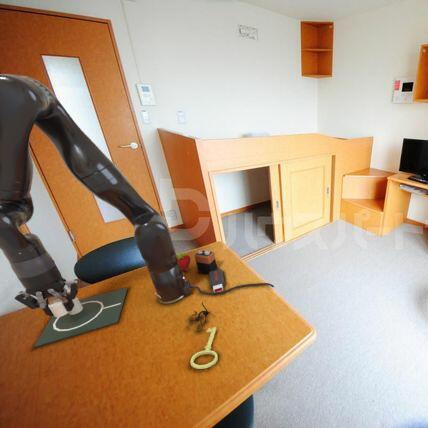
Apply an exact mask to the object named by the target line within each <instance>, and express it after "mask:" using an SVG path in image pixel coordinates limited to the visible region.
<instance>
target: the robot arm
mask: <svg viewBox="0 0 428 428" xmlns="http://www.w3.org/2000/svg"><path fill="white" fill-rule="evenodd" d="M34 126H35V127H36V128H37V129H38V130H39V131H40V132H41V133H42V134H43V135H44V136H45V137H46V138H47V139H48V140H49V141H50V142H51V143H52V145H53V146H54V149H55V150H56V152H57V153H58V155H59V157H60V159H61V161H62V162H63V165H64V166H65V168H66V169H67V170H68V172H69V173H70V174H71V175H72V177H73V178H74V179H75V180H76V181H78V183H80V184H81V185H82V186H83V187H84V188H85V189H86V190H87V191H88V192H89V193H91V194H92V195H93V196H94V197H96V198H98V199H99V200H101V201H102V202H105V204H108V205H110V206H112V207H113V208H115V209H116V210H118V211H119V212H120V213H121V214H122V215H123V216H124V217H125V218H126V219H127V220H128V222H129V223H130V225H132V227H133V228H134V230H133V236H134V241H135V243H136V245H137V249H138V251H139V252H140V256H141V258H142V259H143V261H144V263H145V266H146V269H147V271H148V274H149V276H150V279H151V282H152V285H153V287H154V290H155V291H154V296H157V299H158V302H159V303H160V304H162V305H171V304H174V303H177V302H179V301H181V300H183V298H186V297H187V296H188V295H189V294H191V293H192V289H197V290H198V293H200V294H202V295H206V296H207V295H209V296H213V295H220V294H225V293H228V292H231V291H233V290H235V289H239V288H245V287H252V286H253V287H255V286H269V287H271V288H275V286H274V284H271V283H268V282H260V283H259V282H258V283H245V284H239V285H236V286H233V287H231V288H228V289H225V290H223V291H220V292H214V291H213V292H207V291H206V292H205V291H202V290H201V288H200V287H199V286H197V285H191V283H190V280H186V279H185V276H184V273H183V272H184V271H182V269H181V268H180V266H179V262H178V259H177V257H178V256H176V255H177V253H176V250H175V247H174V243H173V239H172V237H171V232H170V229H169V225H168V222H167V220H166V218H165V217H164V216H163V215H162V214H160V213H159V211H157V210H156V209H155V208H154V207H153V206H151V205H150V204H149V203H148V202H147V201H146V200H145V199H144V198H143V197H142V195H140V193H139V192H138V191H137V190H136V188H135V186H133V184H132V183H131V181H129V179H128V178H127V177H126V176H125V175H124V174H123V172H122V171H121V170H120V169H119V167H117V166H116V164H115V163H114V162H113V161H112V160H111V159H110V158H109V157H108V156H107V155H106V154H105V153H104V152H103V151H102V149H100V147H99V146H97V144H96V143H95V142H94V141H93V140H92V139H91V138H90V137H89V136H88V135H87V134H86V133H85V132H84V131H83V130H82V129H81V127H80V126H79V125H78V124H77V122H75V120H74V119H73V117H72V116H71V115H70V114H69V112H68V111H67V110H66V108H65V107H64V106H63V104H62V103H61V101H60V100H59V99H58V98H57V97H56V95H55V94H54V93H53V91H52V90H51V89H50V88H48V87H47V86H46V85H45V84H43V82H41V81H39V80H37V79H36V78H34V77H31V76H28V75H24V74H10V73H8V74H7V73H0V250H1V252H2V254H3V255H4V257H5V258H6V260H7V261H8V263H9V265H10V268H11V270H12V271H13V273H14V275H15V276H16V278H17V279H18V281H19V283H21V285H22V286H23V288H24V289H25V290H21V291H19V292H18V293H17V295H16V296H15V297H14V300H16V301H17V302H19V303H21V304H22V305H25V306H26V307H28V308H29V309H30V310H36V309H41V310H42V311H43V313H44V314H45V315H46V316H48V317H52V316H54V315H53V313H52V311H51V310H50V308H49V307H48V304H49V303H50V298H51V297H54V298H56V299H60V300H61V301H62V302H63V305H64V306H65V308H66V310H67V311H68V312H69V311H72V309H73V308H74V305H75V304H74V303H73V301H72V300H73V299H75V297H76V298H77V295H78V293H79V283H80V280H79V279H78V278H75V279H73V280H67V279H66V278H64V277H63V276H62V273H61V271H60V270H59V268H58V266H57V263H56V261H55V260H54V259H53V257H52V256H51V254H50V253H49V252H48V250H47V248H46V247H45V246H44V244H43V242H42V240H41V239H40V237H39V236H38V235H37V234H35V233H32V232H26V233H23V232H22V231H21V230H20V227H22V226H24V225H25V224H27V223H29V221H31V220H32V218H33V215H34V213H35V206H34V201H33V197H32V194H31V190H32V187H33V186H32V184H33V177H34V163H33V159H32V155H31V151H30V150H31V149H30V138H31V133H32V130H33V128H34ZM65 287H67V288H68V289H70V291H69V292H68V290H67V289H66V288H65Z"/></svg>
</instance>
